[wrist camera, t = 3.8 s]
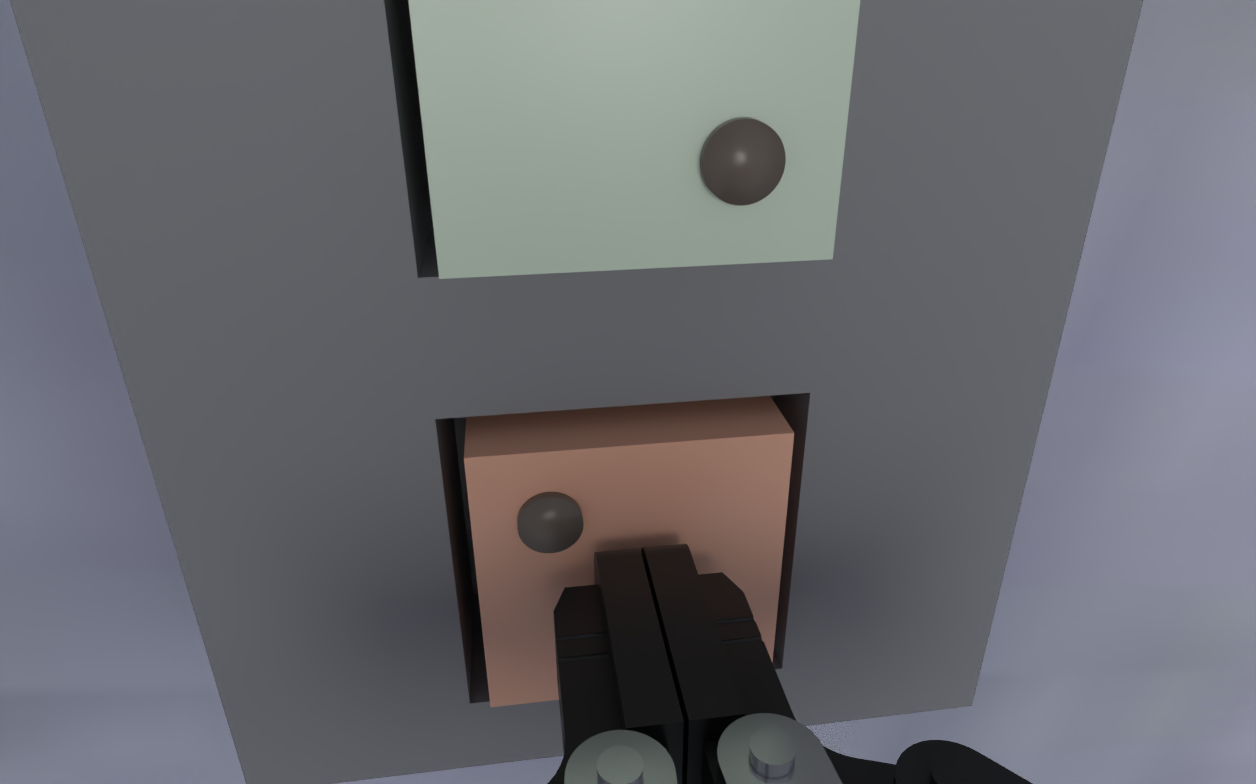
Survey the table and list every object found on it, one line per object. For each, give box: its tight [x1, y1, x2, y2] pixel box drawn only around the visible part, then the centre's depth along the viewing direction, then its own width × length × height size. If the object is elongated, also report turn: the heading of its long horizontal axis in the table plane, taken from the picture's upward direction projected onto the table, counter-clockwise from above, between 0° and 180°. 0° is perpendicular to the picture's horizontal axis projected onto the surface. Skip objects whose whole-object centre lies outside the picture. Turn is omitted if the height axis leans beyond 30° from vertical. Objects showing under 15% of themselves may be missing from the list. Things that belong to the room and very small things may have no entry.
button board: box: [10, 0, 1143, 784], centre depth 12 cm, size 25×14×4 cm, turn 1°
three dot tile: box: [464, 396, 794, 707], centre depth 15 cm, size 5×5×3 cm
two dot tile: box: [408, 0, 860, 279], centre depth 10 cm, size 5×5×3 cm
